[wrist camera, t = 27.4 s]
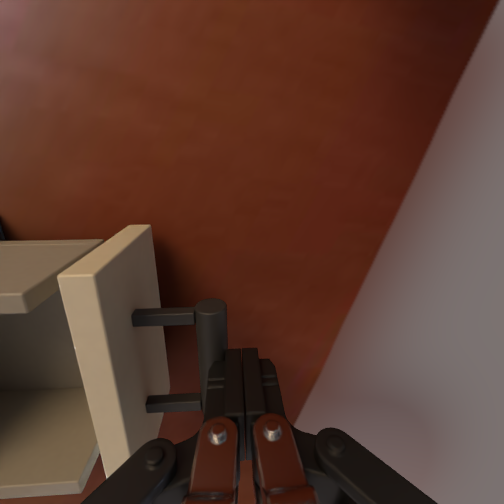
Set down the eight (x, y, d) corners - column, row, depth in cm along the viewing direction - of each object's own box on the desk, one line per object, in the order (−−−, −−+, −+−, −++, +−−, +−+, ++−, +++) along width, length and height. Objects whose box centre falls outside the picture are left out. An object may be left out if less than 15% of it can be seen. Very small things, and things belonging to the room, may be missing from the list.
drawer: (226, 223, 16) (222, 271, 9) (231, 384, 19) (230, 498, 13) (-115, 227, 15) (-387, 286, 8) (-41, 398, 18) (-186, 529, 12)
